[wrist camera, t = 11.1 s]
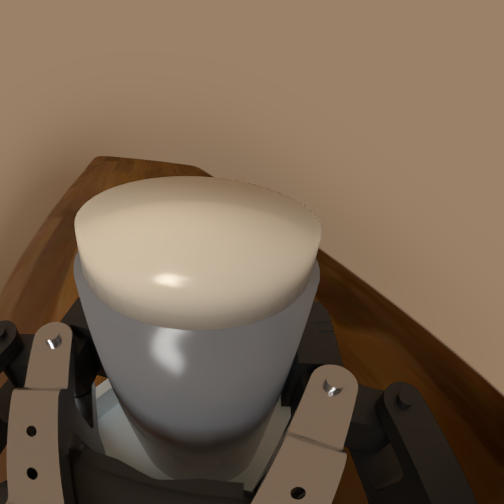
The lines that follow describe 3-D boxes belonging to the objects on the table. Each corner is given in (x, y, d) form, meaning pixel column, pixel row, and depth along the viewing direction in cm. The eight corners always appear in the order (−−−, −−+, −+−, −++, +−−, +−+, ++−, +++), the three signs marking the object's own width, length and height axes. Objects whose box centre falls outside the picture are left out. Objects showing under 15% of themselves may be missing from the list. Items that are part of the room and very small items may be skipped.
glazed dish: (330, 423, 14) (345, 403, 13) (230, 570, 5) (234, 577, 4) (187, 345, 19) (185, 320, 17) (67, 440, 10) (48, 420, 9)
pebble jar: (278, 424, 12) (356, 213, 7) (213, 507, 8) (226, 357, 2) (190, 372, 14) (191, 166, 9) (119, 434, 10) (32, 210, 5)
